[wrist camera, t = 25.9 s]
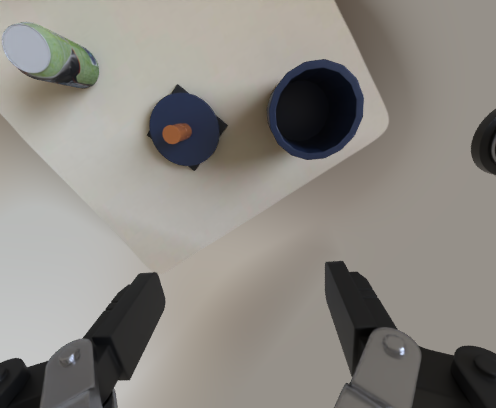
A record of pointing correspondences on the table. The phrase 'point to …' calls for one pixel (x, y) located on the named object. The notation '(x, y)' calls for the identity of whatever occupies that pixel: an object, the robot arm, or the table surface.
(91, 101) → the table surface
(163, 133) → the tin lid
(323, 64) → the tin
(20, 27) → the beverage can
